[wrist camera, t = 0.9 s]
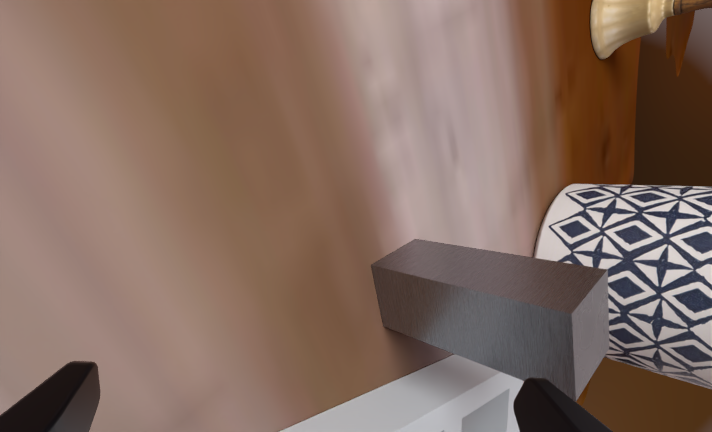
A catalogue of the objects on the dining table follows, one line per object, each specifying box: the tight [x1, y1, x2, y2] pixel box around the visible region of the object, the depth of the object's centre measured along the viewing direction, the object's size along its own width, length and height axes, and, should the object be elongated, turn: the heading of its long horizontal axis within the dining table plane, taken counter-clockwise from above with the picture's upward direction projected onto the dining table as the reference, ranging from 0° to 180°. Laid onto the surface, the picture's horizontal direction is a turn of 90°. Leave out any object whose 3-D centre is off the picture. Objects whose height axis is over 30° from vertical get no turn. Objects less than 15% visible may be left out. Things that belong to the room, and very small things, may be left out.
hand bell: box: [590, 0, 712, 59], centre depth 43 cm, size 8×8×16 cm
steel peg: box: [371, 239, 609, 401], centre depth 23 cm, size 4×4×12 cm
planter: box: [533, 184, 712, 389], centre depth 41 cm, size 18×18×16 cm
